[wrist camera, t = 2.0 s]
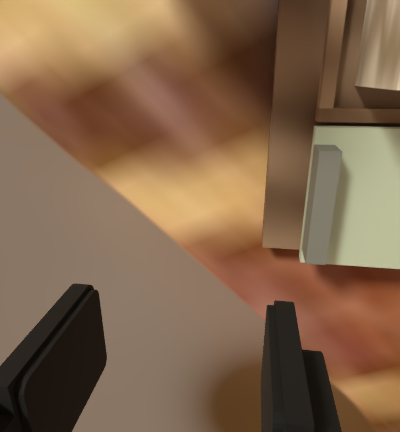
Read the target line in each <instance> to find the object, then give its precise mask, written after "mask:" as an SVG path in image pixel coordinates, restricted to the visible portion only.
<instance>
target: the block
mask: <svg viewBox="0 0 400 432" xmlns="http://www.w3.org/2000/svg"><path fill="white" fill-rule="evenodd" d="M354 86H361V87H371V88H380V89H389V90H400V0H367V5H366V11H365V18H364V25H363V31H362V38H361V45H360V51H359V58H358V64H357V71H356V78H355V84H354Z"/></svg>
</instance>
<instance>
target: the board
mask: <svg viewBox="0 0 400 432" xmlns="http://www.w3.org/2000/svg"><path fill="white" fill-rule="evenodd" d="M366 5H367V0H279V6H278V20H277V34H276V48H275V63H274V77H273V91H272V105H271V119H270V133H269V147H268V161H267V175H266V189H265V203H264V218H263V232H262V245H263V247H266V248H281V249H297V250H300V243H301V234H302V226H303V217H304V208H305V200H306V191H307V183H308V174H309V165H310V157H311V148H312V140H313V131H314V126H369V127H400V90H389V89H380V88H371V87H361V86H354V84H355V78H356V71H357V64H358V58H359V51H360V45H361V38H362V31H363V25H364V18H365V11H366Z"/></svg>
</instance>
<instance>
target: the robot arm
mask: <svg viewBox="0 0 400 432" xmlns="http://www.w3.org/2000/svg"><path fill="white" fill-rule="evenodd" d="M106 360H107V354H106V347H105V339H104V331H103V323H102V315H101V307H100V299H99V293H98V291H97V290H94V288H93V286H92V285H86V284H85V285H84V284H72V285H71V286H70V287H69V289H68V290H67V291H66V292H65V293H64V294H63V296H61V298H60V299H59V300H58V301H57V302H56V303H55V305H54V306H53V307H52V308H51V309H50V310H49V311H48V312H47V314H46V315H45V316H44V317H43V318H42V319H41V320H40V322H39V323H38V324H37V325H36V326H35V327H34V328H33V330H32V331H31V332H30V333H29V334H28V335H27V336H26V337H25V339H24V340H23V341H22V342H21V343H20V344H19V345H18V346H17V348H16V349H15V350H14V351H13V352H12V353H11V354H10V356H9V357H8V358H7V359H6V360H5V361H4V362H3V363H2V365H1V366H0V432H72V430H73V428H74V426H75V424H76V422H77V420H78V418H79V416H80V415H81V413H82V411H83V409H84V407H85V405H86V403H87V401H88V399H89V397H90V395H91V393H92V391H93V389H94V387H95V386H96V383H97V382H98V380H99V378H100V375H101V374H102V372H103V370H104V368H105V365H106ZM262 360H263V361H262V371H261V424H262V425H261V431H262V432H342V431H341V427H340V423H339V419H338V415H337V410H336V406H335V403H334V398H333V394H332V390H331V385H330V381H329V377H328V373H327V369H326V364H325V360H324V357H323V354H322V352H320V351H310V350H302V348H301V342H300V336H299V330H298V324H297V318H296V312H295V306H294V302H286V301H274V305H267V311H266V323H265V336H264V347H263V359H262Z"/></svg>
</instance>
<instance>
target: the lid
mask: <svg viewBox="0 0 400 432" xmlns="http://www.w3.org/2000/svg"><path fill="white" fill-rule="evenodd" d="M299 259H300V262H305V263H306V264H317V265H326V264H334V265H348V266H362V267H377V268H391V269H400V127H369V126H314V131H313V140H312V148H311V157H310V165H309V174H308V183H307V191H306V200H305V208H304V217H303V226H302V234H301V243H300V251H299Z"/></svg>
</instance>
